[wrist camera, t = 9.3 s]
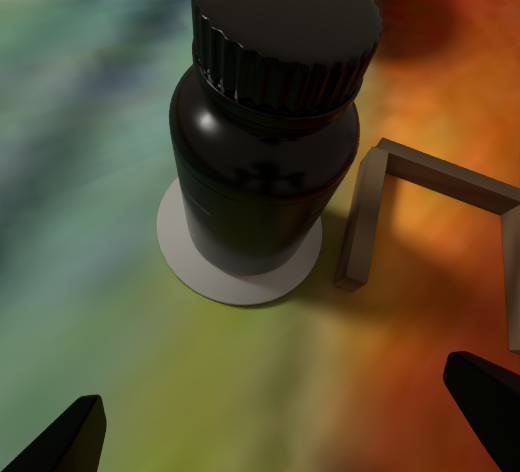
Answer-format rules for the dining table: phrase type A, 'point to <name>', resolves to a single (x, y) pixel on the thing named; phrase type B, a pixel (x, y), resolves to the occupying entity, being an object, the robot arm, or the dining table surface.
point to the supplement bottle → (267, 122)
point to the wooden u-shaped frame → (441, 180)
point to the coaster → (216, 280)
